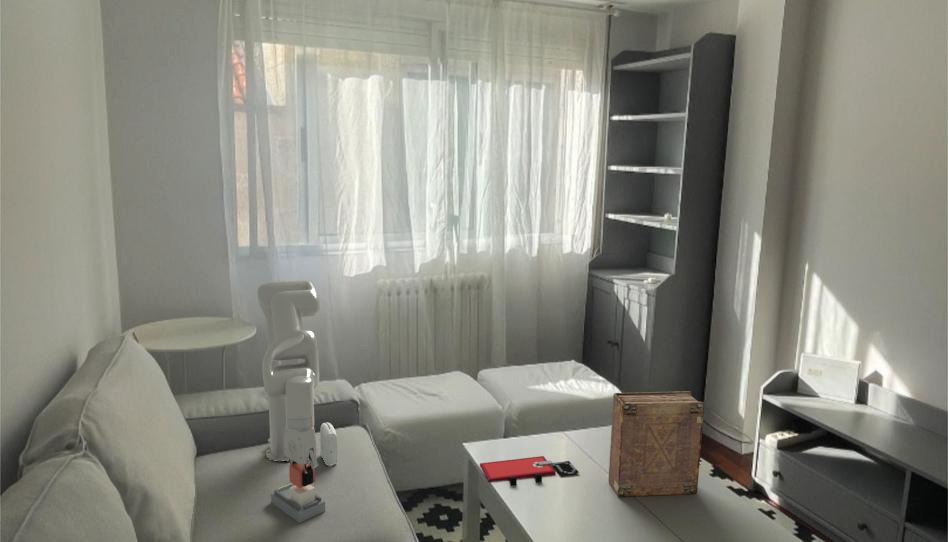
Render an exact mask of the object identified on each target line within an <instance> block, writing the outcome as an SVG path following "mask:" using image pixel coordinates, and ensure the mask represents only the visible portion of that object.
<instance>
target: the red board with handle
mask: <svg viewBox="0 0 948 542" xmlns="http://www.w3.org/2000/svg"><path fill="white" fill-rule="evenodd" d="M479 466H480V468H481V470H482V472H483V474H484V475H485V478H486V479H487V480H488V482H490V483H491V482H498V481H507V480H508V481H509V485H510V486H517V483H518V481H517V479H523V478H524V479H525V478H535V479H534V481H535V483H536V484H537V483H542V482H543V476H548V475H555V474H556V472H558V474H559V475H561V476H563V475H570V474H578V473H580V472H579V470H577V468H576V467H575V466H574V465H573V464H572V462H571V461H570V460H565V461H559V462H558V461H557V462H553V461H552V460H547V459H546V458H545V456H544V455H542V456H532V457H524V458H516V459H507V460H497V461H489V462H481V463H479Z"/></svg>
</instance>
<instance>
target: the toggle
mask: <svg viewBox="0 0 948 542" xmlns="http://www.w3.org/2000/svg"><path fill="white" fill-rule="evenodd" d="M315 494H316V488H315V487H314V486H313V485H312V484H310V485H307V486H305V487H302V488H298V487H297V486H293V487H291V488H290V500H291V501H293V502H294V503H296V504H297V505H299V506H300V507H302V506H304V505H307V504H309V503H311V502H313V501H315Z"/></svg>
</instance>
